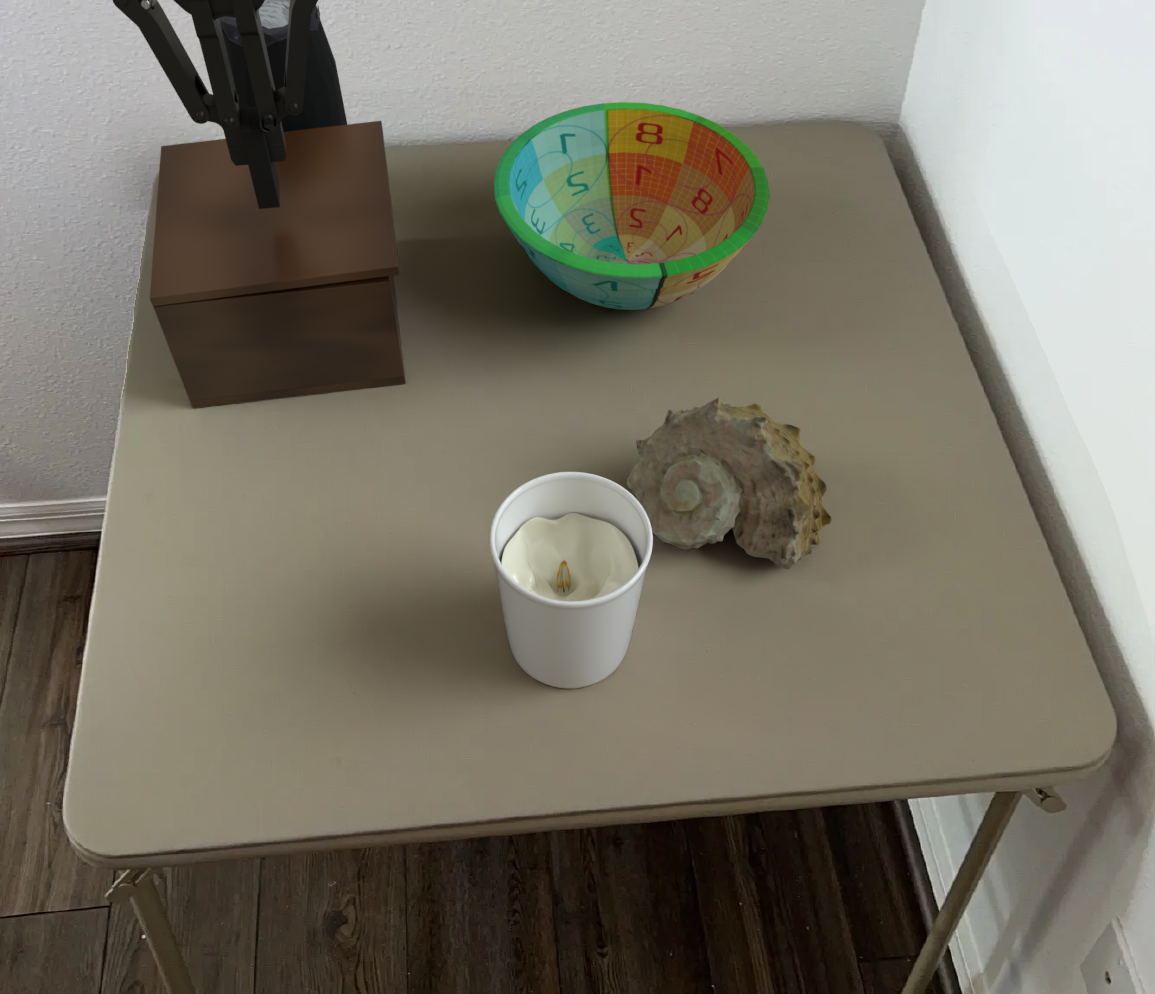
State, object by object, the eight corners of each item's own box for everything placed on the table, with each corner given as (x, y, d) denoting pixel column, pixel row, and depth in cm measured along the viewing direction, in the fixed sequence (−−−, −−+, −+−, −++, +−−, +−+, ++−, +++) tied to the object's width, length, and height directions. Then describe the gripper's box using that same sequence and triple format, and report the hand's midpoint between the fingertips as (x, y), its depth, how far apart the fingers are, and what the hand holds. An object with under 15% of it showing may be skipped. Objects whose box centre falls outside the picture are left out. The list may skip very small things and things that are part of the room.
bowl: (498, 195, 106) (494, 101, 98) (736, 192, 106) (751, 98, 98) (498, 370, 92) (492, 277, 84) (770, 365, 93) (789, 272, 85)
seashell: (631, 464, 88) (623, 378, 80) (820, 459, 87) (832, 371, 79) (629, 586, 82) (621, 506, 73) (834, 583, 80) (849, 501, 72)
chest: (389, 239, 102) (373, 135, 93) (405, 383, 91) (389, 282, 82) (198, 259, 100) (164, 155, 91) (192, 408, 89) (153, 307, 80)
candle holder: (485, 590, 79) (475, 486, 70) (619, 563, 81) (628, 458, 71) (513, 714, 74) (507, 619, 64) (658, 683, 75) (673, 586, 66)
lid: (382, 128, 93) (381, 120, 92) (400, 274, 82) (398, 266, 81) (164, 154, 91) (161, 146, 90) (152, 306, 80) (149, 298, 80)
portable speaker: (262, 177, 107) (212, -24, 91) (362, 173, 107) (329, -27, 92) (253, 237, 101) (199, 34, 86) (359, 232, 102) (323, 30, 86)
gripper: (63, -108, 61) (175, 238, 80) (308, -121, 63) (362, 220, 81) (75, -168, 65) (179, 173, 84) (303, -179, 67) (355, 157, 86)
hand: (269, 196), depth 83 cm, fingers closed
